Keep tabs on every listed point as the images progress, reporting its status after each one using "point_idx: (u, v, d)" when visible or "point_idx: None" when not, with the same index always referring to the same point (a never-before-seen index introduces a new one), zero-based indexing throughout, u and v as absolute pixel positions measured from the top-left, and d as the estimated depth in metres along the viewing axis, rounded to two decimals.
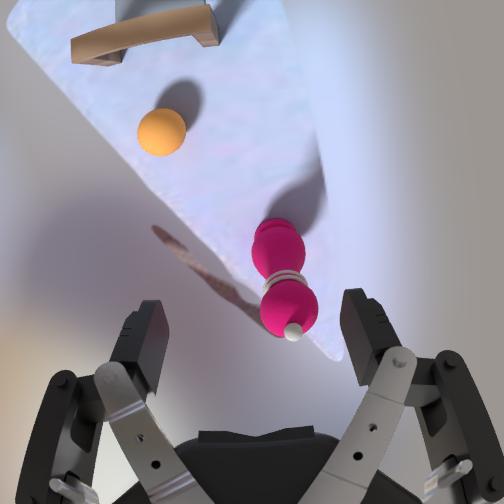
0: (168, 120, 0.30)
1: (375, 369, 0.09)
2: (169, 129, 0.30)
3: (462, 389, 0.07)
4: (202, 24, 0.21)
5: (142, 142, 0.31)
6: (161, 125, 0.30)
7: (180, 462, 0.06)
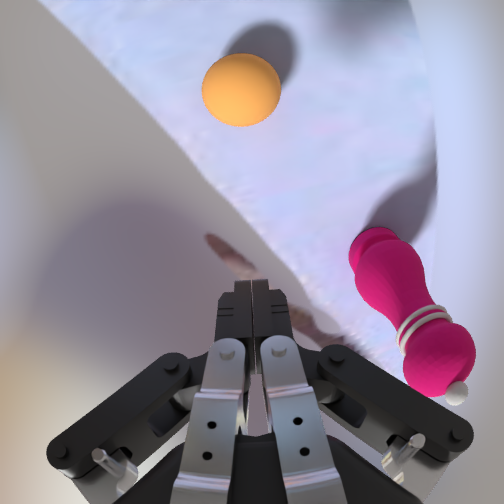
0: (262, 68, 0.18)
1: None
2: (264, 82, 0.18)
3: (365, 377, 0.08)
4: None
5: (216, 99, 0.19)
6: (252, 74, 0.17)
7: (230, 466, 0.05)
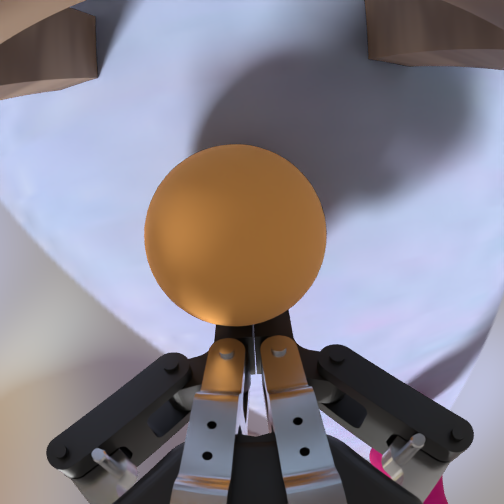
0: (279, 156, 0.09)
1: None
2: (286, 168, 0.08)
3: (365, 377, 0.08)
4: None
5: (162, 204, 0.08)
6: (256, 150, 0.08)
7: (230, 467, 0.05)
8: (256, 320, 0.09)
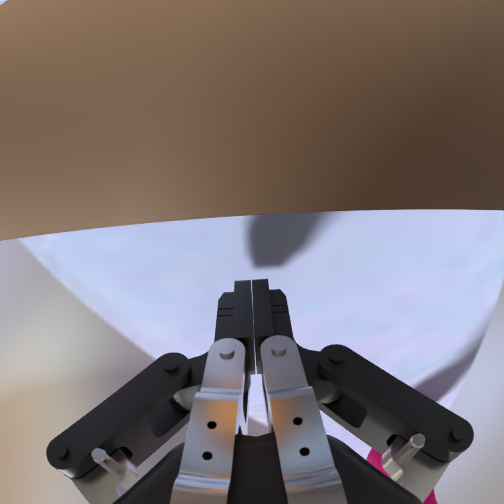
0: None
1: None
2: None
3: (365, 377, 0.08)
4: None
5: None
6: None
7: (230, 466, 0.05)
8: None
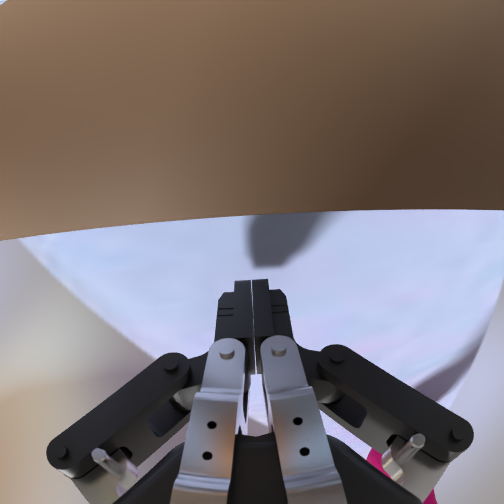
0: None
1: None
2: None
3: (365, 377, 0.08)
4: None
5: None
6: None
7: (230, 466, 0.05)
8: None
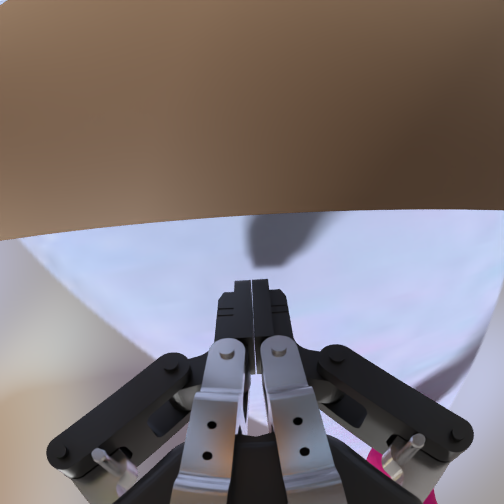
0: None
1: None
2: None
3: (365, 377, 0.08)
4: None
5: None
6: None
7: (230, 466, 0.05)
8: None
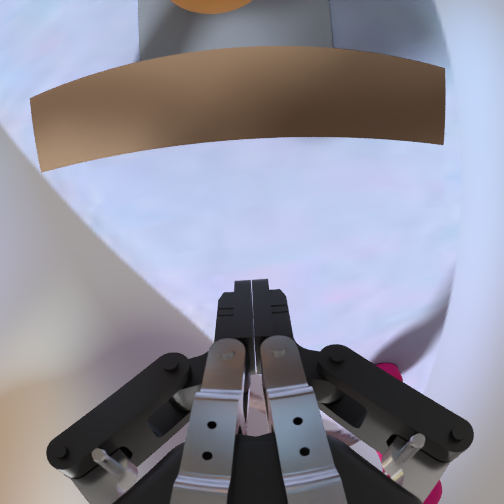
0: None
1: None
2: None
3: (365, 377, 0.08)
4: (429, 123, 0.08)
5: None
6: None
7: (229, 467, 0.05)
8: (228, 9, 0.12)
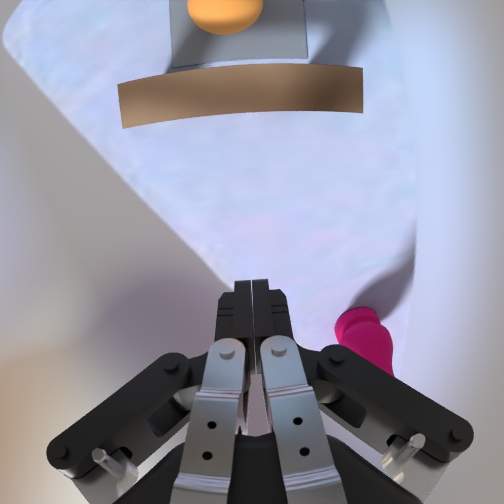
0: None
1: None
2: None
3: (365, 377, 0.08)
4: (351, 100, 0.16)
5: (200, 2, 0.15)
6: None
7: (230, 467, 0.05)
8: (235, 32, 0.19)
